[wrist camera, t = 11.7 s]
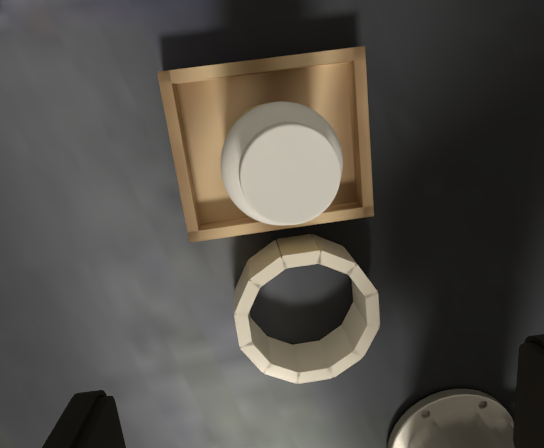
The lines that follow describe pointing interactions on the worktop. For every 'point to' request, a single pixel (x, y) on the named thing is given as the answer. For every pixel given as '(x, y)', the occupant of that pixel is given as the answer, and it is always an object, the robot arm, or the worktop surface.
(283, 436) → the worktop surface
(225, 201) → the tray
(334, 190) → the supplement bottle
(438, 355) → the worktop surface
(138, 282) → the worktop surface
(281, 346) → the holder
